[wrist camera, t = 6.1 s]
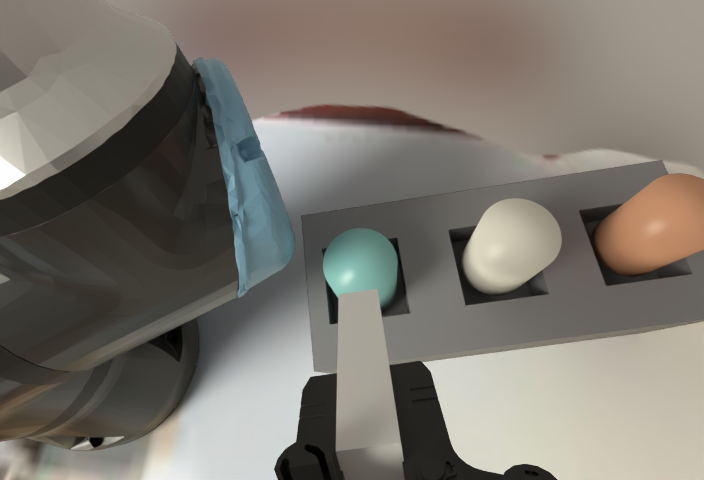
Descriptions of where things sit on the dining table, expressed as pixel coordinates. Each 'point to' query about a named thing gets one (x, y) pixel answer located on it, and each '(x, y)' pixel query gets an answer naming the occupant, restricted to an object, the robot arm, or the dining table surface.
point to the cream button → (510, 246)
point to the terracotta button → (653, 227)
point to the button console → (523, 303)
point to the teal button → (362, 264)
